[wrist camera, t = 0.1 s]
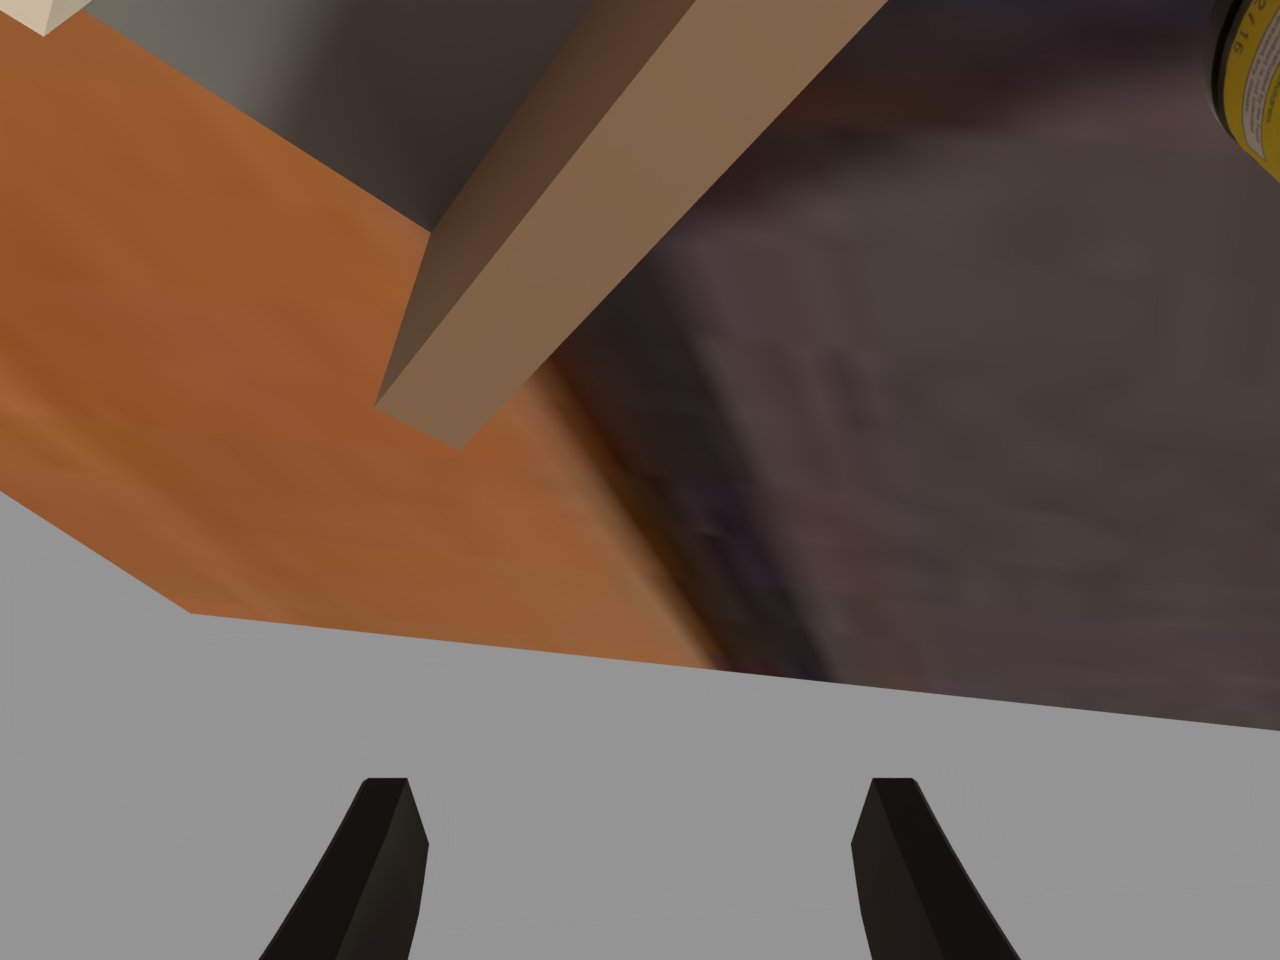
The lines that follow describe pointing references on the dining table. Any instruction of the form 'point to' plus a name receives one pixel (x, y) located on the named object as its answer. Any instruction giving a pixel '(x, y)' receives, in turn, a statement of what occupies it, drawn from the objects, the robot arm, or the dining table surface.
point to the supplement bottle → (1246, 76)
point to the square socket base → (41, 12)
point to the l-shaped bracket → (504, 144)
